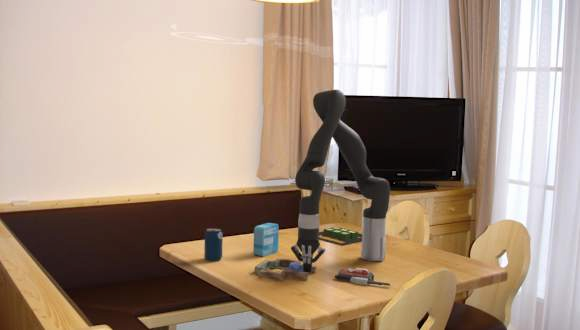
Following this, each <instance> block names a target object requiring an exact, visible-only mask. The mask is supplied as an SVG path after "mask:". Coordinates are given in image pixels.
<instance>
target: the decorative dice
mask: <svg viewBox="0 0 580 330" xmlns="http://www.w3.org/2000/svg"><path fill="white" fill-rule="evenodd" d="M302 264H303V263H302V262H301V263H299V262H292V263H291V264H290V265H289V267H288V270H293V271H301V272H303V265H302Z"/></svg>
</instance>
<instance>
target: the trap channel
mask: <svg viewBox="0 0 580 330" xmlns="http://www.w3.org/2000/svg"><path fill="white" fill-rule="evenodd" d="M292 262H299V263H301V264H302V265H303V263H302V261H299V260H298V259H291V258H282V257H278V258H276V259H275V260H272V259H264V260H263V261H261V262H260V263H258V264H257V265H255V266H254V274H256V275H258V279H264V280H265V279H266V280H271V281H278V282H284V281H285V280H286V279H293V280H299V281H308V280H309V274H316V273H317V265H314V264H312V271H311V272H310V273H309V274H308V272H304V271H303V272H301V271H293V270H288V267H289V265H290V264H291V263H292ZM270 269H279V270H280V269H281V271H279V272H277V271H272V270H270Z"/></svg>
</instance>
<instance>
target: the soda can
mask: <svg viewBox="0 0 580 330" xmlns="http://www.w3.org/2000/svg"><path fill="white" fill-rule="evenodd" d="M223 238H224V237H223V232H222V228H217V227H211V228H210V227H209V228H206V230H205V232H204V252H203V253H204V255H203V256H204V258H205V260H206V261H207V262H219V261H221V260H222V259H223Z"/></svg>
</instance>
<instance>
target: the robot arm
mask: <svg viewBox="0 0 580 330" xmlns="http://www.w3.org/2000/svg"><path fill="white" fill-rule="evenodd" d="M346 100H347V99H346V96H345V94H344V92H342V91H341V90H340V89H330V90H323V91H320V92H317V93H315V94H314V96H313V100H312V105H313V109H314V111H315V113H316V114H317V116H318V118H319V119H320V121H321V122H322V124H321V126H319V128H318V130H316V133H315V134H314V135H313V136H312V138H311V140H310V143H309V145H308V149H307V153H306V156H305V158H304V160H303V162H302V164H301V165H300V166H299V168H298V170H297V172H296V175H295V179H294V182H295V183H294V184H295V185H296V187H297V189H300V190H305V191H311V193H310V195H306V196H302V197H301V198H300V199H299V215H298V223H297V225H298V226H297V227H298V228H297V241H296V244H294V245H292V246H290V250H291V251H292V253H293V255H294V256H295V257H296V260H299V261H301V263H302V264H303V271H304V272H308V275H309V274H311V273H310V272H311V271H312V265H313V263H316V262H317V261H318V260H319V259H320V258H321V256H323V255H324V254H325V252H326V248H323V247H322V246H321V243H320V240H319V232H320V202H321V198H322V197H321V196H322V194H323V191H324V187H325V184H326V177H325V175H324V173H323V172H322V171H320V170H314V169H317V168H322V167H323V166H324V165H325V163H326V159H327V155H328V151H329V148H330V145H331V141H332V139H333V140H334V142H335V143H336V146H337V147H338V150H339V151H340V154H341V155H342V157H343V159H344V160H345V161H346V162H345V163H346V164H347V166H348V168H349V169H350V171H351V173H352V175H353V177H354V180H355V182H356V184H357V187H358V190H359V192H360V194H361V195H362V197H363V198H365V199H368V200H371V201H370V202H371V203H370V206H369V207H366V208H365V209H363V211H362V212H363V213H362V230H361V231H362V233H361V234H362V242H361V249H360V250H361V252H360V258H361V259H362V260H366V261H370V262H383V261H384V260H385V258H386V245H387V234H386V226H387V225H386V222H387V212H388V211H389V208H390V207H389V205H390V196H391V186H390V183H389V181H388V180H387V179H385V178H382V177H375V176H374V175H373V174H372V173H371V171H370V170H369V168H368V166H367V149H366V146H365V145H364V142H363V141H362V139H361V137H360V135H359V134H358V133H357V132H356V131H355V130H354V129H352V128H351V127H349V126H348V125H347V124H346V123H345V122H343V121H342V120H341V118H342V116H343V113H344V111H345V108H346V104H347V103H346V102H347V101H346ZM316 252H317V254H316V256H314V254H315V253H316Z"/></svg>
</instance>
